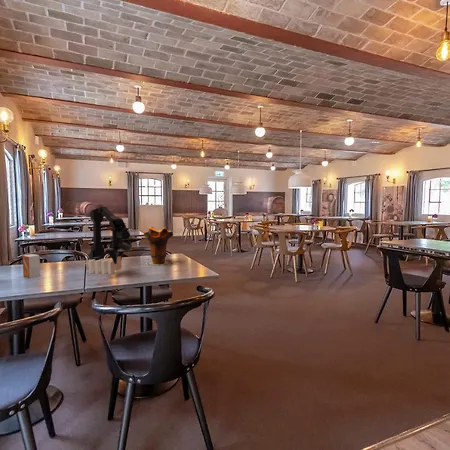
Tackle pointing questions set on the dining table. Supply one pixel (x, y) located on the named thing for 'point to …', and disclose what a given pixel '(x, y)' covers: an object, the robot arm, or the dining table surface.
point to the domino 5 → (118, 263)
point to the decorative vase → (158, 245)
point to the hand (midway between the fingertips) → (117, 263)
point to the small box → (31, 265)
